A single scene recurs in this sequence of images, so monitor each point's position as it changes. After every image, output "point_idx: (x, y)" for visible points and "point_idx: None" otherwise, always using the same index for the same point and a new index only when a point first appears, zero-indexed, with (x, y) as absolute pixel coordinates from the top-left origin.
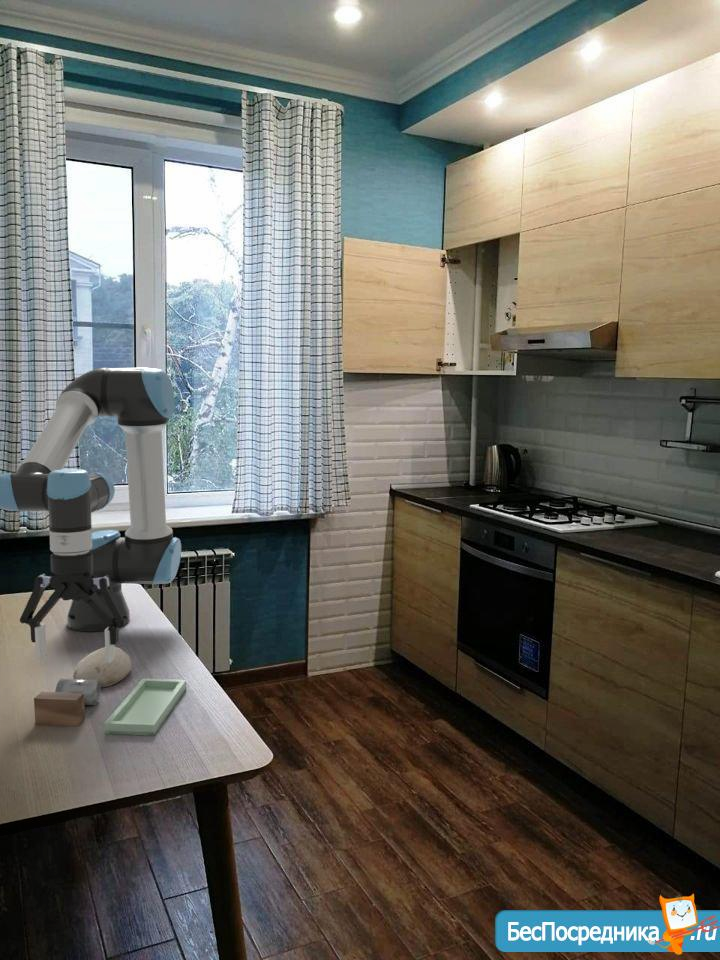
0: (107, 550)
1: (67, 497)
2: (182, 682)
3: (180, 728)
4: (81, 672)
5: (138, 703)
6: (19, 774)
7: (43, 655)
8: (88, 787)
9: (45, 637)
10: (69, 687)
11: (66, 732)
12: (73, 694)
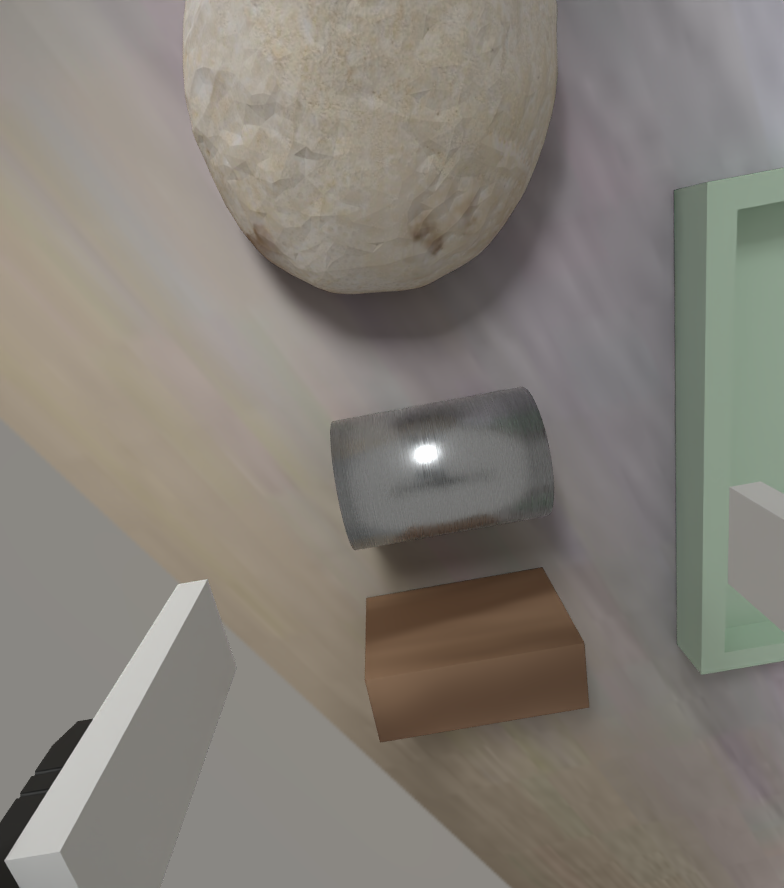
0: None
1: None
2: None
3: None
4: (323, 268)
5: (736, 411)
6: (533, 874)
7: (216, 634)
8: (752, 873)
9: (148, 698)
10: (427, 536)
11: None
12: (540, 665)
